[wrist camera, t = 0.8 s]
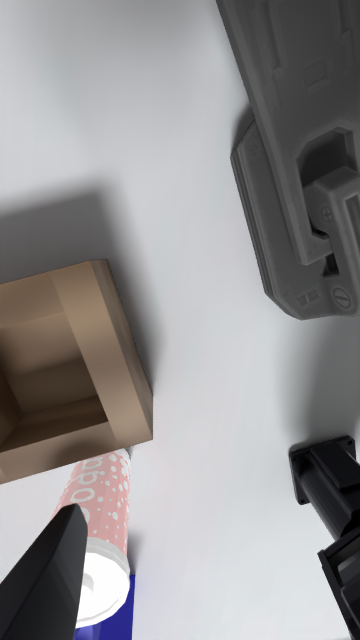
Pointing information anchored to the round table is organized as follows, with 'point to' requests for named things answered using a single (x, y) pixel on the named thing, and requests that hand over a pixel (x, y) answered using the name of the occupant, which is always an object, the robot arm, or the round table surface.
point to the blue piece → (112, 622)
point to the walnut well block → (67, 371)
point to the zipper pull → (301, 149)
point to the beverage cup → (102, 532)
